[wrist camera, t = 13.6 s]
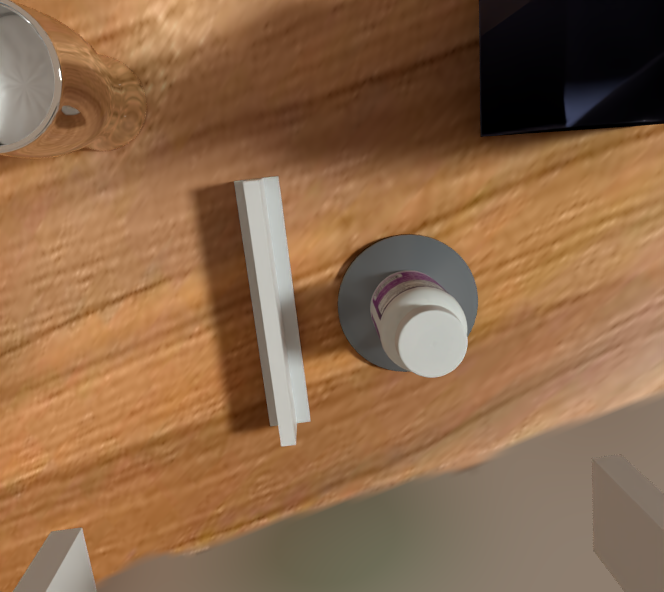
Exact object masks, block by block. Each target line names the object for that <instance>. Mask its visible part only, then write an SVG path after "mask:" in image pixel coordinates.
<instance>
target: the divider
mask: <svg viewBox="0 0 664 592" xmlns="http://www.w3.org/2000/svg"><path fill="white" fill-rule="evenodd" d="M234 185H235V192H236V199H237V206H238V212H239V219H240V226H241V233H242V239H243V246H244V253H245V260H246V266H247V273H248V280H249V287H250V293H251V300H252V307H253V314H254V320H255V327H256V334H257V341H258V347H259V354H260V361H261V367H262V374H263V381H264V388H265V394H266V401H267V408H268V415H269V421H270V426H277V425H278V427H279V434H280V441H281V446H289V445H296V432H297V423H302V422H310V412H309V404H308V397H307V389H306V382H305V374H304V367H303V359H302V351H301V344H300V336H299V329H298V321H297V313H296V306H295V298H294V291H293V283H292V276H291V268H290V260H289V253H288V245H287V238H286V230H285V223H284V215H283V207H282V200H281V192H280V185H279V177H278V176H274V177H266V178H257V179H249V180H240V181H234Z"/></svg>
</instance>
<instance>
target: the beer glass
mask: <svg viewBox="0 0 664 592" xmlns="http://www.w3.org/2000/svg"><path fill="white" fill-rule="evenodd" d="M146 112H147V102H146V96H145V92H144V89H143V87H142V84H141V82H140V81H139V79H138V78H137V76H136V75H135V74H134V73H133V71H132V70H131V69H130V68H129V67H128V66H126V65H125V64H124V63H122V62H121V61H119V60H117V59H115V58H112V57H110V56H106V55H101V54H98V53H97V52H96V51H95V50H94V49H93V47H92V46H91V45H90V44H89V43H88V42H86V41H85V40H84V39H83V38H82V37H81V36H80V35H79V34H78V33H77V32H75V31H74V30H73V29H71V28H70V27H68V26H66V25H65V24H63V23H62V22H60V21H58V20H57V19H55V18H53V17H51V16H49V15H47V14H44V13H42V12H40V11H38V10H36V9H33V8H30V7H27V6H24V5H22V4H19V3H15V2H12V1H10V0H0V155H2V156H9V157H16V158H34V159H36V158H49V157H57V156H62V155H65V154H68V153H71V152H74V151H77V150H79V149H82V148H84V147H86V148H88V149H92V150H98V151H110V150H115V149H118V148H121V147H123V146H125V145H127V144H128V143H129V142H131V141H132V140H133V139H134V138H135V137H136V136H137V135H138V133H139V132H140V130H141V128H142V126H143V124H144V121H145V118H146Z"/></svg>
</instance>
